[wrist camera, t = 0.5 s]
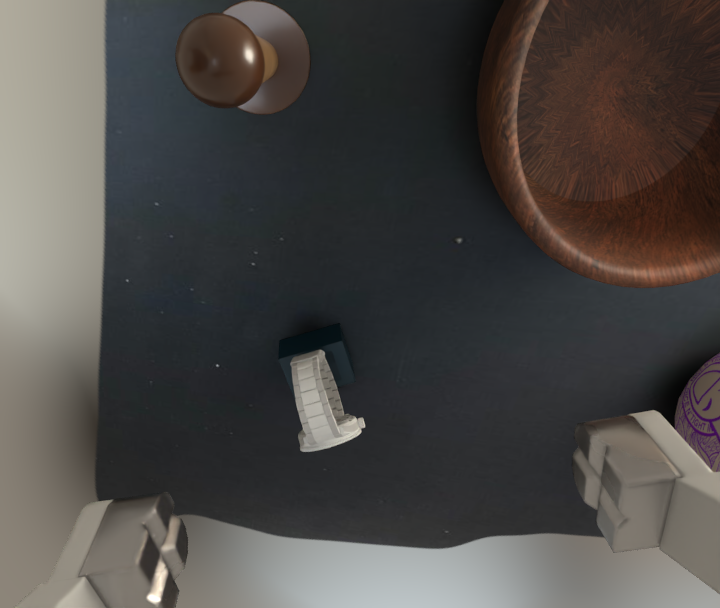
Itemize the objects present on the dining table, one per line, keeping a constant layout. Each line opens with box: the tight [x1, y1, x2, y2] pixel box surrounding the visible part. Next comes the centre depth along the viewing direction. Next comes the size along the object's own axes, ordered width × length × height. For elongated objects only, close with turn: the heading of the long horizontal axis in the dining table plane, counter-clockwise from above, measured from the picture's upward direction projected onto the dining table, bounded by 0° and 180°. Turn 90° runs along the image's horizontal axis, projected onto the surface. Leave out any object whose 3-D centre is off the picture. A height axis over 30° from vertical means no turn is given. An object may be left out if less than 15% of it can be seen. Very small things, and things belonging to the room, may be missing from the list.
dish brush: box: [175, 0, 311, 115], centre depth 26 cm, size 6×6×23 cm
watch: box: [278, 323, 365, 452], centre depth 41 cm, size 6×8×11 cm
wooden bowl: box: [477, 0, 720, 288], centre depth 34 cm, size 25×25×10 cm
